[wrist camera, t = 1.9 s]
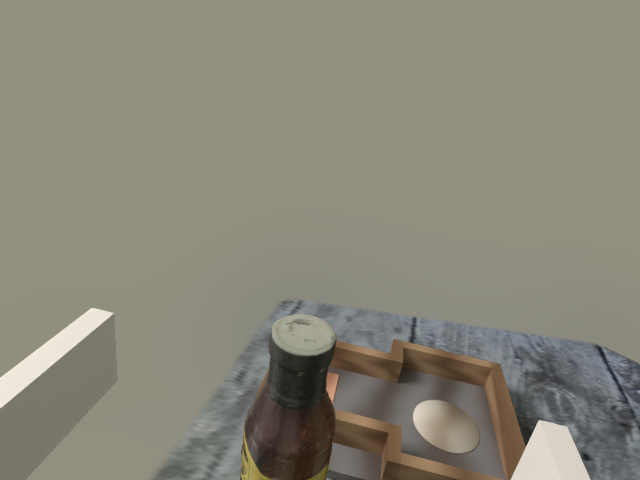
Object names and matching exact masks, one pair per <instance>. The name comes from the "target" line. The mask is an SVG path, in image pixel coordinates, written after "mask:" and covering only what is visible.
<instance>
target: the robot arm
mask: <svg viewBox="0 0 640 480" xmlns="http://www.w3.org/2000/svg"><path fill="white" fill-rule="evenodd" d="M116 381H117V361H116V342H115V323H114V313H110V312H107V311H103V310H99V309H94V308H91V309H90V310H89V311H87V312H86V313H85V314H83V315H82V316H81V317H79V318H78V319H77V320H75V321H74V322H73V323H72V324H70V325H69V326H68V327H66V328H65V329H64V330H62V331H61V332H60V333H58V334H57V335H56V336H55V337H53V338H52V339H51V340H49V341H48V342H47V343H45V344H44V345H43V346H41V347H40V348H39V349H38V350H36V351H35V352H34V353H32V354H31V355H30V356H28V357H27V358H26V359H24V360H23V361H22V362H20V363H19V364H18V365H16V366H15V367H14V368H13V369H11V370H10V371H9V372H7V373H6V374H5V375H3V376H2V377H1V378H0V480H26V479H27V477H28V476H29V475H30V474H31V473H32V472H33V471H34V470H35V469H36V468H37V467H38V466H39V465H40V463H41V462H42V461H43V460H44V459H45V458H46V457H47V456H48V455H49V454H50V453H51V452H52V450H53V449H54V448H55V447H56V446H57V445H58V444H59V443H60V442H61V441H62V440H63V439H64V438H65V436H66V435H67V434H68V433H69V432H70V431H71V430H72V429H73V428H74V427H75V426H76V425H77V423H78V422H79V421H80V420H81V419H82V418H83V417H84V416H85V415H86V414H87V413H88V412H89V410H90V409H91V408H92V407H93V406H94V405H95V404H96V403H97V402H98V401H99V400H100V399H101V398H102V396H104V394H105V393H106V392H107V391H108V390H109V389H110V388H111V386H112V385H114V384H115V382H116ZM511 480H590V478H589V476H588V473H587V471H586V469H585V466H584V464H583V462H582V460H581V457H580V455H579V453H578V451H577V448H576V446H575V444H574V441H573V439H572V437H571V435H570V432H569V430H568V428H567V427H565V426H561V425H557V424H554V423H550V422H546V421H542V420H539V421H538V423H537V425H536V427H535V429H534V431H533V434H532V436H531V438H530V440H529V442H528V444H527V446H526V448H525V450H524V452H523V455H522V457H521V459H520V461H519V463H518V465H517V467H516V469H515V471H514V474H513V476H512V478H511Z"/></svg>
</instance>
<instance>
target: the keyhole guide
mask: <svg viewBox="0 0 640 480" xmlns="http://www.w3.org/2000/svg"><path fill="white" fill-rule="evenodd" d="M268 373H269V370H268V372H267V374H266V376H265V378H264V381H263V383H262V385H261V387H260V389H259V392H258V394H257V396H258V395H259V393H260V391H261V389H262V388H263V386H264V384H265V383H266V381H267V375H268ZM326 382H327V386H326V390H327V392H328V394H329V397H330V399H331V401H332V405H333V406H334V410H335V417H336V422H335V425H336V426H335V434H334V436H333V441H332V442H333V443H332V453H331V458H330V463H329V468H328V472H327V477H328V478H332V479H335V480H511V478H512V476H513V474H514V471H515V469H516V467H517V465H518V463H519V461H520V459H521V457H522V455H523V452H524V450H525V448H526V447H525V444H524V440H523V437H522V434H521V431H520V427H519V424H518V421H517V418H516V414H515V411H514V408H513V404H512V401H511V398H510V395H509V391H508V388H507V385H506V382H505V378H504V375H503V372H502V368H501V365H500V364H498V363H494V362H489V361H485V360H481V359H476V358H472V357H468V356H464V355H459V354H455V353H451V352H447V351H442V350H438V349H434V348H429V347H425V346H421V345H417V344H412V343H408V342H404V341H399V340H395V339H394V340H393V344H392V348H391V352H390V353H386V352H382V351H377V350H373V349H369V348H365V347H361V346H356V345H352V344H348V343H344V342H340V341H336V346H335V351H334V355H333V358H332V361H331V363H330V366H329V368H328V373H327V378H326ZM257 396H256V398H257ZM256 398H255V399H256ZM242 452H243V445H242ZM242 452H241V454H242Z"/></svg>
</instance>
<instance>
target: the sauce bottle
mask: <svg viewBox="0 0 640 480" xmlns="http://www.w3.org/2000/svg"><path fill="white" fill-rule="evenodd" d="M335 346H336V334H335V331H334V330H333V329H332V327H331V326H330V325H329V324H328V323H327V322H325V321H324V320H322V319H320V318H318V317H315V316H311V315H305V314H299V315H291V316H287V317H284V318H281V319H280V320H278V321H276V323H275V324H274V325H273V327H272V329H271V333H270V340H269V353H270V355H271V357H270V368H269V373H268V375H267V381H266V383H265V384H264V386H263V388H262V389H261V391H260V393H259V395H258V396H257V398H256V399H255V401H254V403H253V404H252V405H251V407H250V409H249V410H248V412H247V415H246V418H245V425H244V437H243V452H242V463H241V475H240V480H326V477H327V472H328V468H329V463H330V458H331V453H332V443H333V442H332V441H333V436H334V434H335V426H336V425H335V422H336V417H335V410H334V406H333V405H332V401H331V399H330V397H329V394H328V392H327V390H326V386H327V382H326V378H327V373H328V368H329V366H330V363H331V361H332V358H333V355H334V351H335Z"/></svg>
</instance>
